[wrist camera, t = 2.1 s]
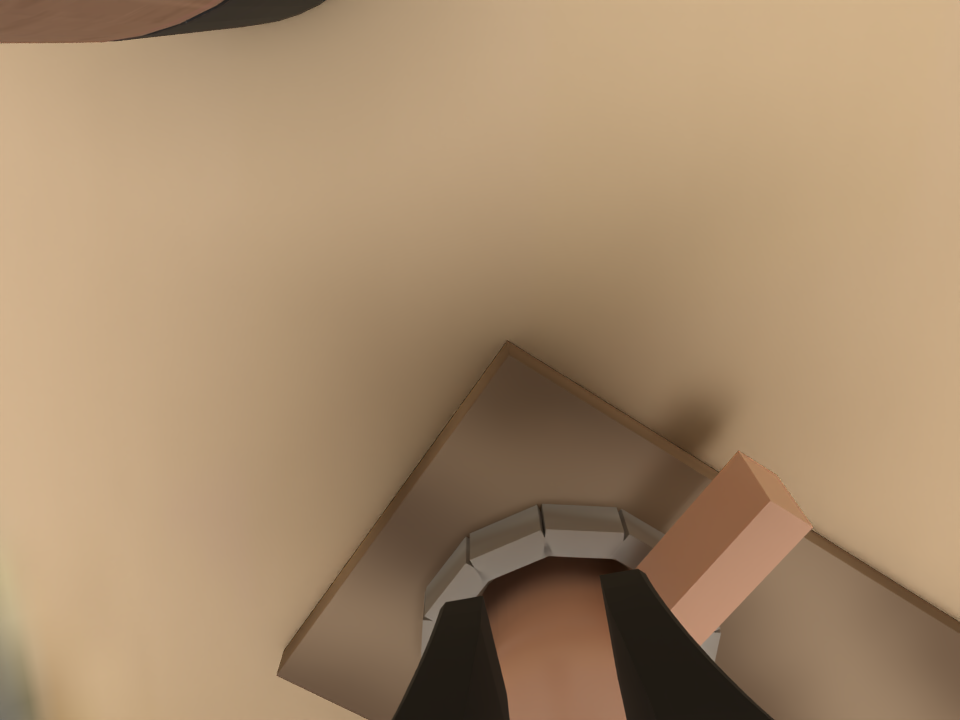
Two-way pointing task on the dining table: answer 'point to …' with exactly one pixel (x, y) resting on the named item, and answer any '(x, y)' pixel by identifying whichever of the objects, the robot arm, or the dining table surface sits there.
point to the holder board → (610, 535)
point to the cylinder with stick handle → (671, 570)
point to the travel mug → (133, 18)
